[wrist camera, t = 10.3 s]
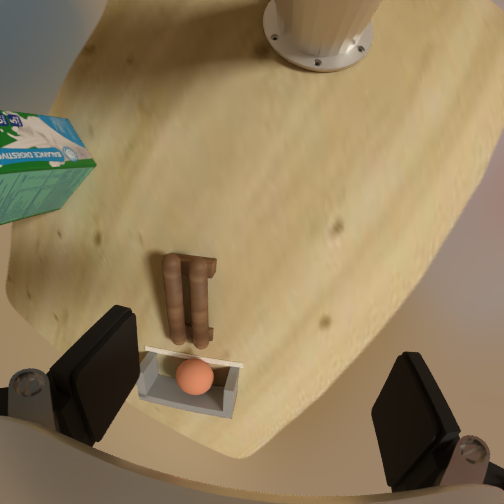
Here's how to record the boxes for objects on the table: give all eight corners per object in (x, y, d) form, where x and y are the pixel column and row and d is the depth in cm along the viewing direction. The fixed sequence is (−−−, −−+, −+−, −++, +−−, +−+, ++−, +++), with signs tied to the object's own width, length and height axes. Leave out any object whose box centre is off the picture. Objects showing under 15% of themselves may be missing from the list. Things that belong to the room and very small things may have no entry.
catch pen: (148, 351, 39) (134, 371, 34) (239, 367, 38) (233, 391, 34) (151, 378, 41) (139, 399, 36) (236, 395, 40) (231, 418, 35)
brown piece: (171, 245, 35) (156, 255, 31) (217, 250, 34) (208, 261, 30) (172, 337, 38) (160, 355, 34) (212, 344, 38) (205, 364, 34)
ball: (167, 366, 38) (173, 364, 34) (199, 354, 41) (209, 351, 36) (181, 399, 37) (188, 401, 33) (213, 386, 39) (224, 387, 35)
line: (145, 345, 39) (144, 345, 39) (243, 362, 38) (243, 363, 38) (145, 349, 39) (145, 350, 39) (243, 367, 38) (242, 368, 38)
